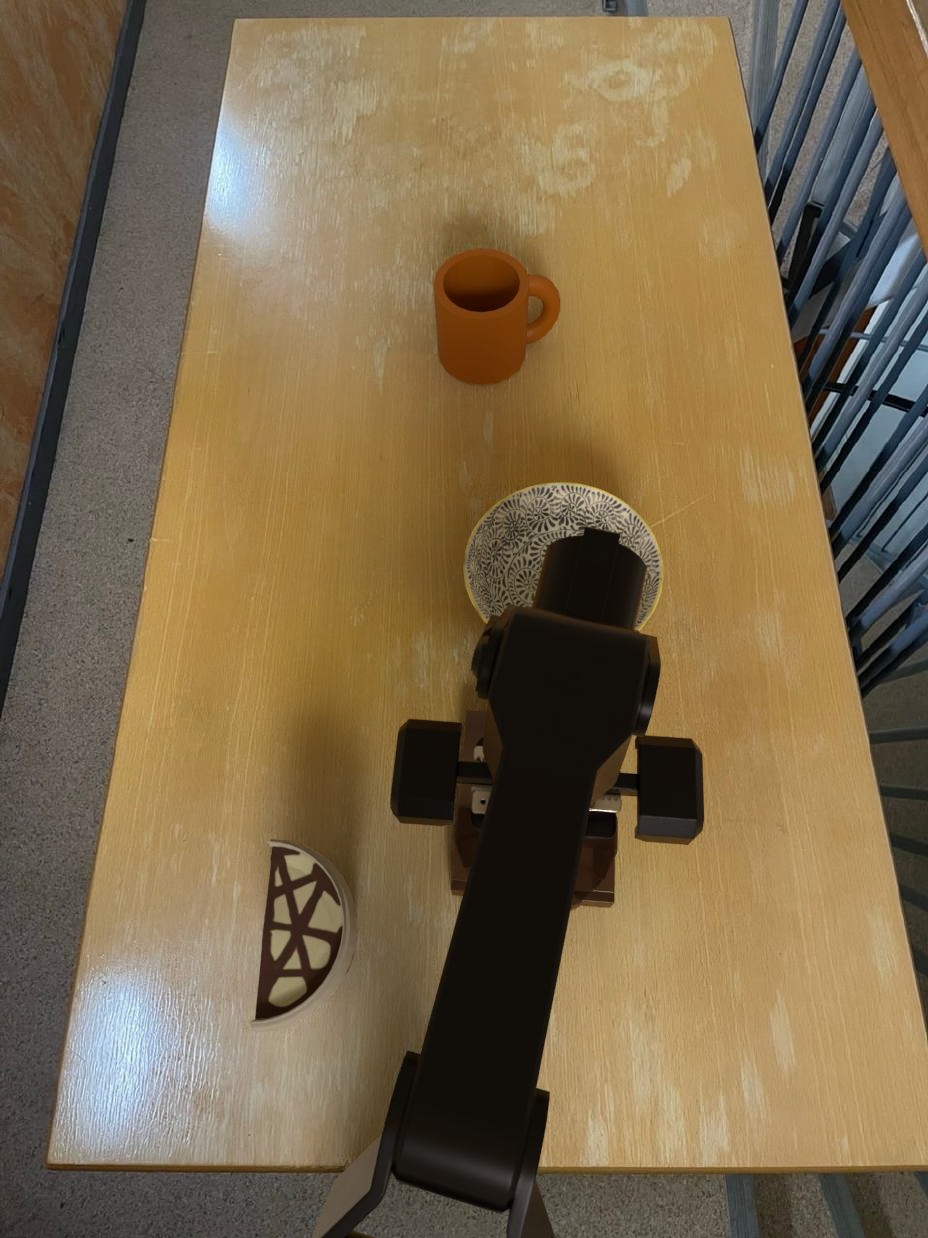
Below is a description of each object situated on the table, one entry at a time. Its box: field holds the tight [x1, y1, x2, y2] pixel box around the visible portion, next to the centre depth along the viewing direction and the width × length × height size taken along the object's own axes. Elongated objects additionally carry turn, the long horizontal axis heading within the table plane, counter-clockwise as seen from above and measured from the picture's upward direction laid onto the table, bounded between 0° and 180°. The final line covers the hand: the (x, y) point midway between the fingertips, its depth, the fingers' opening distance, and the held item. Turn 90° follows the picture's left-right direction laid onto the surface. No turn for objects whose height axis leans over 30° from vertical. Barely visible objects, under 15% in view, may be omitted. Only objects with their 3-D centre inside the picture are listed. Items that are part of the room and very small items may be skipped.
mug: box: [432, 247, 561, 386], centre depth 88 cm, size 9×12×9 cm
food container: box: [248, 838, 358, 1034], centre depth 64 cm, size 12×6×10 cm, turn 179°
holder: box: [450, 710, 619, 912], centre depth 71 cm, size 15×12×2 cm
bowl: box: [462, 481, 665, 632], centre depth 77 cm, size 16×16×8 cm
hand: (539, 812), depth 64 cm, fingers closed
